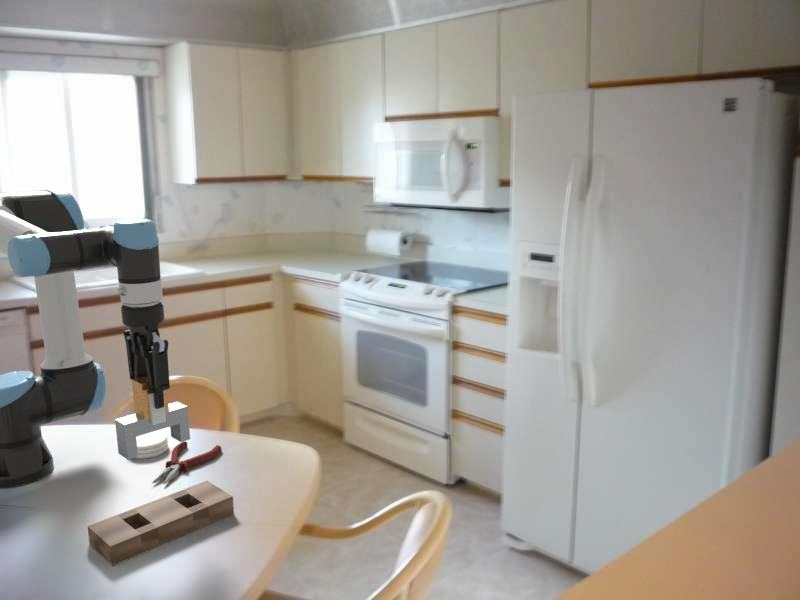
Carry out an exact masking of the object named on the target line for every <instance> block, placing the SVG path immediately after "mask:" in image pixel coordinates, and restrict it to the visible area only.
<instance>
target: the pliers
mask: <svg viewBox="0 0 800 600" xmlns="http://www.w3.org/2000/svg"><path fill="white" fill-rule="evenodd" d="M186 449H188V442H187V441H183V442H180V443H178V444H177V445H176V446H175V447H174V448H172V451H171V457H170V460H167V461H166V462H165V469H164V470H162V472H161V473H160V474H159V475H157V476H156V478H154V480H153V481H152V484H156V483H158V482H161V481H163V480H164V481H163V485H165V484H167V483H169V482H170V481H172V480H174V479H175V478H176V477H177V476H178V475H179V473H183V472H184V473H186V474H187V473H189V470H190V469H193V468H196V467H198V466H201V465H204V464H206V463H210V462H211V461H214V460H215V459H216V458H218V457H219V456H220V455H221V453H222V452H223V451H222V450H223V449H222V446H221V445H218V444H216V445H215V446H214V447H213V448H212V449H211V450H209V451H207V452H204V453H202V454H199V455H196V456H193V457H190V458H188V459H185V460H181V461H179V462H178V456H179V455H180V454H181V453H182V452H184V451H185V450H186Z"/></svg>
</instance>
